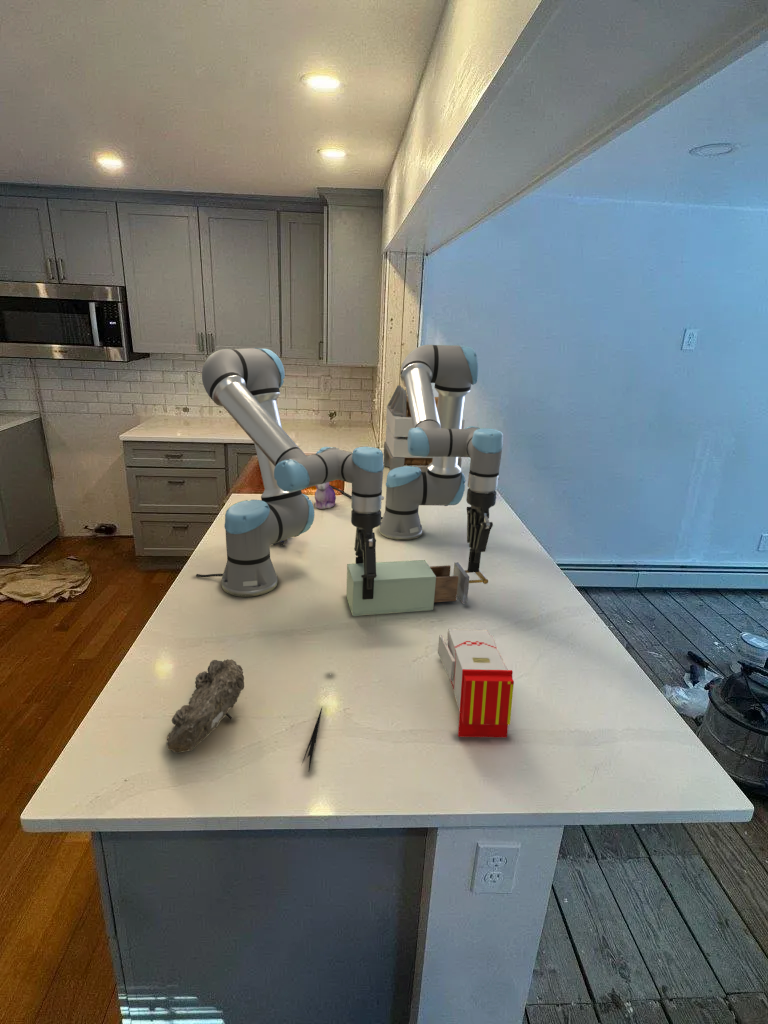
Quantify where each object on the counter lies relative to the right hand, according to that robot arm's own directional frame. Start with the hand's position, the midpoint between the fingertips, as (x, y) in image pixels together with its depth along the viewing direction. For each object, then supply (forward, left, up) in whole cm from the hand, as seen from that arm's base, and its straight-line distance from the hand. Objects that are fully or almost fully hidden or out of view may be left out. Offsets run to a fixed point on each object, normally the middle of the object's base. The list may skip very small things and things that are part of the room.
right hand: (473, 571), depth 155 cm
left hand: (-14, -27, -3) cm, 30 cm away
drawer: (-5, -9, -7) cm, 12 cm away
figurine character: (-65, -21, -8) cm, 69 cm away
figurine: (-85, +11, -8) cm, 86 cm away
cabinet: (-11, -20, -8) cm, 25 cm away
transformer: (-99, +76, -8) cm, 125 cm away
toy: (+27, -32, -8) cm, 43 cm away
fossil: (+2, -77, -8) cm, 77 cm away
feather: (+15, -61, -8) cm, 64 cm away
